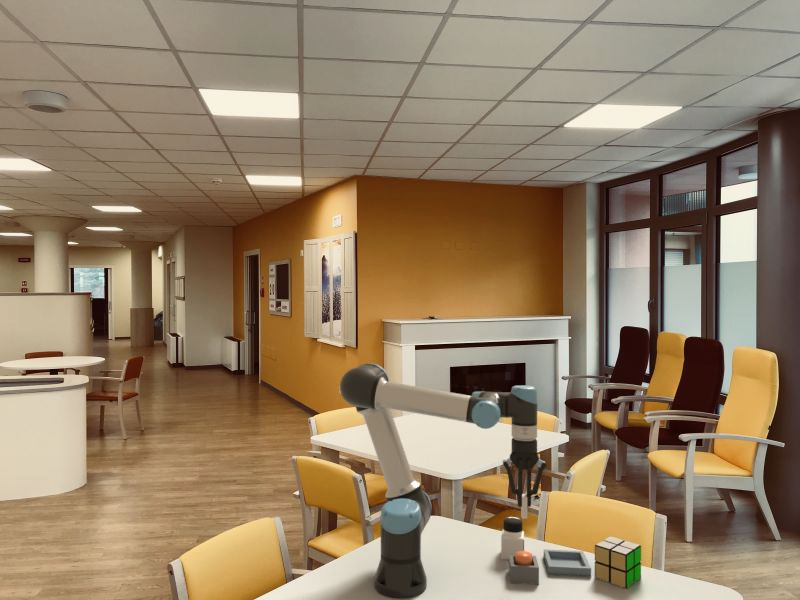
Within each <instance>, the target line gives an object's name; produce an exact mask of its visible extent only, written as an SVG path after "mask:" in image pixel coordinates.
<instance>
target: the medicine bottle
mask: <svg viewBox="0 0 800 600" xmlns="http://www.w3.org/2000/svg"><path fill="white" fill-rule="evenodd" d="M502 527H503V528H502V531H501V536H500V537H501V538H500V541H501V542H500V544H501V545H500V547H501V549H500V556H501V557H500V559H501V560H505V561H506V560H507V561H509V555H515V553H516V552H517V551H525V531H524V530H523V519H522V518H519V517H514V516H509V517H505V518H504V519H503V526H502Z"/></svg>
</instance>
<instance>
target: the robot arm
mask: <svg viewBox="0 0 800 600" xmlns="http://www.w3.org/2000/svg"><path fill="white" fill-rule="evenodd" d="M339 392H340V394H341V396H342V398H343V400H344V401H345V402H346V403H347V404H348V405H350V406H354V407H355V410H356V412H357V413H358V414H360V415H362V416H363V418H364V421H365V423H366V427H367V429H368V433H369V436H370V439H371V442H372V444H373V448H374V450H375V451H374V452H375V453H376V457H377V459H378V462H379V465H380V468H381V471H382V474H383V479H384V480H385V484H386V487H387V489H386V490H387V491H386V492H385V495H384V497H385V499H386V503H384V505H383V506H382V507H381V509H380V516H379V521H380V560H379V563H378V566H377V569H376V572H375V576H374V589H375V590H376V592H378V593H379V594H381V595H383V596H386V597H389V598H395V599H396V598H397V599H406V598H411V597H416V596H418V595H420V594H423V593H424V592H425V591H426V589H427V585H428V584H427V582H428V580H427V579H428V578H427V574H426V572H425V569H424V565H423V562H422V559H421V558H422V557H421V556H422V555H421V554H422V552H421V551H422V550H421V548H422V547H421V546H422V545H421V543H422V542H421V540H422V533H423V531H424V529H425V528H426V526H427V524H428V523H429V521H430V519H431V514H432V503H431V499H430V497H429V495H428V494H427V493H426V492H425V491H424V490H423V487H422V485H421V482H420V481H418V480H415V477H414V476H413V473H412V470H411V467H410V463H409V460H408V459H407V458H408V457H407V454H406V452H405V450H404V446H403V444H402V443H403V442H402V440H401V437H400V435H399V431H398V429H397V426H396V422H395V419H394V416H393V413H392V411H391V410H396V411H402V412H408V413H413V414H418V415H423V416H429V417H435V418H436V417H437V418H442V419H445V420H447V419H448V420H452V421H459V422H464V423H469V424H473V425H476V426H477V427H478V428H480V429H484V430H485V429H486V430H487V429H491V428H493V427H495V426H496V425H497V423H498V422H499V421H500V419H501V418H506V419H509V418H510V419H511V437H512V438H511V452H510V454H509V457H508V458H507V459H503V460H502V465H503V466H504V468H505V470H506V473H507V476H508V482H509V486H510V488H511V493H512V494H513V495H516V496H517V505H518V507H520V508H521V509H520V513H521V514H520V516H521V520H523V519H526V520H527V519H528V507H529V508H530V507H531V506H532V497H533V496H534V495H537V494H538V493H539V488H540V485H541V479H542V477H543V471H544V470H545V468H546V467H547V463H546V461H545V460H542V459H540V457H539V454H538V440H537V438H538V391H537V388H535V386H532V385H525V384H524V385H514V386H512V387H511V390H510V392H501V391H500V392H498V391H485V390H482V391H473V392H472V393H471V395H467V394H463V393H456V392H452V391H444V390H439V389H433V388H428V387H427V388H426V387H421V386H415V385H410V384H404V383H397V382H392V381H390V379H389V376H388V373H387V371H386V370H385V369H384V367H382V366H380V365H379V364H376V363H363V364H360V365H358V366H356V367H354V368H351V369H349V370H347V371H346V372H345V373H344V374H343V375H342V377H341V379H340V383H339ZM512 464H513V465H514V467H515V468H516V469H517V479H516V480H517V481H516V482H517V483H516V484H517V488H516V486H515V481H514V477H513V474H512V469H511V467H512ZM536 464H537V470H536V475H535V477H534V482H533V486H532V470H533V469H534V467H535V466H536ZM524 470H525V473H526V474H525V476H526V477H525V480H526V481H525V482H526V483H525V489H526V490H525V491H526V493H523V471H524Z"/></svg>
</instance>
